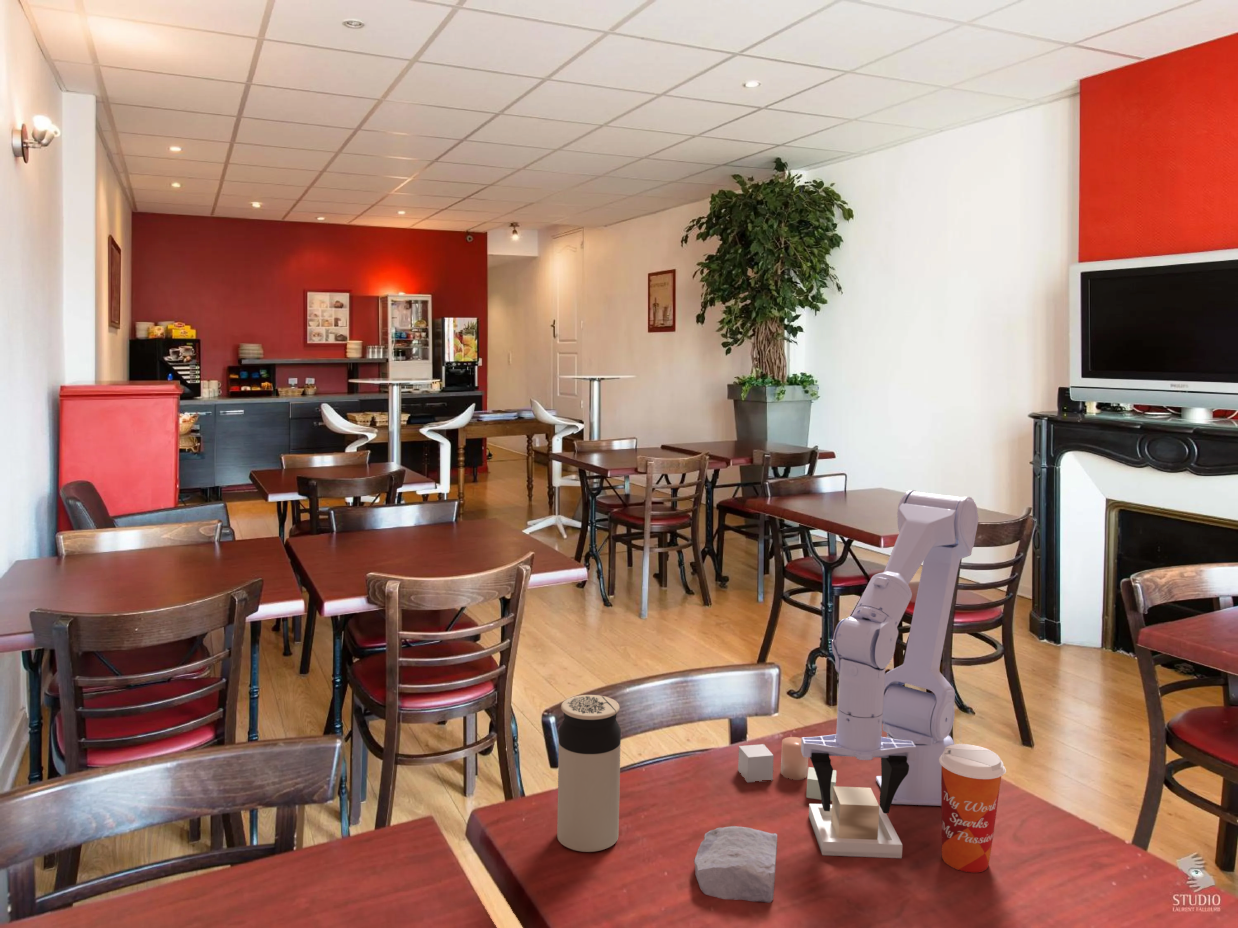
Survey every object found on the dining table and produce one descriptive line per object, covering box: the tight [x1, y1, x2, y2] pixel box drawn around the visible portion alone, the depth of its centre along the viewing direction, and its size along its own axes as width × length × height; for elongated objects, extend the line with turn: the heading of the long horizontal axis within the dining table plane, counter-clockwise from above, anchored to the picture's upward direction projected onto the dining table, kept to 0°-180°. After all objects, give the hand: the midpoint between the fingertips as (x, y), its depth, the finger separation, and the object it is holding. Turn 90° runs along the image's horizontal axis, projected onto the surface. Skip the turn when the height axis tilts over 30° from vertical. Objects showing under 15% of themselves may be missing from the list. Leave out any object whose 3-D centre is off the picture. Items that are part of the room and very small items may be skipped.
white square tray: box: [808, 803, 903, 859], centre depth 121 cm, size 10×10×2 cm
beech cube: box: [831, 785, 880, 840], centre depth 120 cm, size 5×5×5 cm
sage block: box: [806, 766, 837, 802], centre depth 133 cm, size 4×4×3 cm
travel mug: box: [556, 694, 622, 853], centre depth 118 cm, size 8×8×18 cm
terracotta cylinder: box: [780, 736, 809, 781], centre depth 138 cm, size 4×4×5 cm
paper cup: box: [939, 743, 1007, 874], centre depth 115 cm, size 8×8×14 cm
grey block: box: [737, 743, 775, 783], centre depth 138 cm, size 4×4×4 cm
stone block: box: [693, 825, 778, 903], centre depth 111 cm, size 12×5×10 cm
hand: (854, 808), depth 120 cm, fingers open, 7 cm apart
